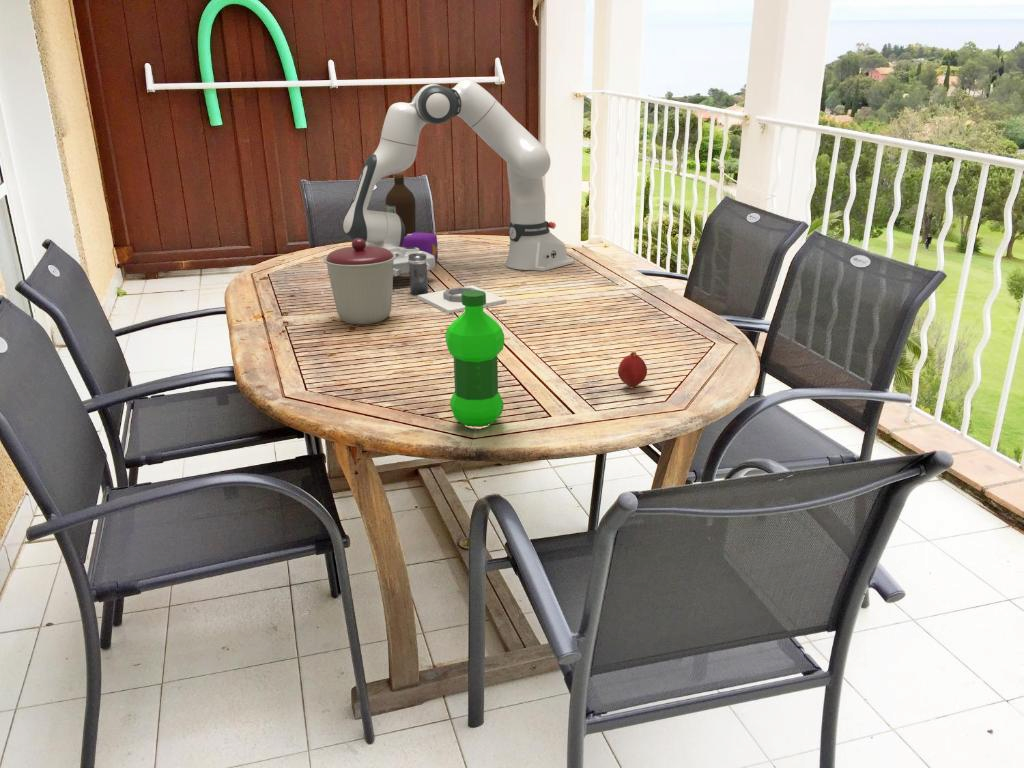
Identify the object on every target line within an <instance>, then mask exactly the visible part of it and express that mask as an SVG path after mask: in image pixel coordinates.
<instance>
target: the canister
mask: <svg viewBox="0 0 1024 768" xmlns="http://www.w3.org/2000/svg"><path fill="white" fill-rule="evenodd" d="M395 258H396V254H395V253H393V252H391V251H389V250H388V249H385V248H382V247H376V246H366V242H365V240H363V239H361V238H357V239H354V240H353V241H351V246H347V247H342V248H338V249H335V250H333V251H331V252H329V253H328V254H327V255H325V256H324V257H323V262H324V263H325V264H326V267H327V272H328V276H329V281H330V287H331V290H332V291H331V293H332V296H333V300H334V304H335V308H336V312H337V315H338V316H339V318H340V319H341V320H342V321H343V322H345V323H347V324H351V325H352V324H353V325H371V324H376V323H379V322H383V321H384V320H386V319H387V318H388V317H389V316H390V314H391V311H392V300H393V287H394V286H393V285H394V283H393V282H394V281H393V280H394V277H393V263H394V259H395Z"/></svg>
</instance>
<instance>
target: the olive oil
mask: <svg viewBox="0 0 1024 768" xmlns="http://www.w3.org/2000/svg"><path fill="white" fill-rule="evenodd" d="M393 175H394V177H393V179H394V180H393V182H394V185H393V186H392V188H391V189H390V190H389V191H388V192H387V194H386V196H385V212H390V213H396V214H398V215H399V216H400V218H401V219H402V221H403V224H404V226H405V236H407V234H411V233H417V231H416V229H417V227H416V225H417V223H416V198H415V195H414V193H413V192H412V190H410V189H409V188H408V187H407V186H406V185H405V178H404V173H403V172H400V173H396V174H393Z"/></svg>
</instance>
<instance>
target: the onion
mask: <svg viewBox="0 0 1024 768" xmlns="http://www.w3.org/2000/svg"><path fill="white" fill-rule="evenodd" d="M617 370H618V371H617V374H618V375H617V376H618V377H619V378H620V381H621V382H622V383H624V385H626V386H627V387H628V386H629V387H635V388H636V387H638V386H639V385H640V384H641V383H642V382H644V380H645V379H646V378H647V376H648V375H647V374H648V368H647V365H646V363H645V361H644V360H643V358H642V357H641V356H639V355H638V354H637V351H634V350H633V351H631V352H630V354H628V355H627V356H625V357H624V358H623V359H622V360H621V361H620V363H619V365H618V369H617ZM629 387H628V388H629Z"/></svg>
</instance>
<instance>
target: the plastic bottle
mask: <svg viewBox="0 0 1024 768" xmlns="http://www.w3.org/2000/svg"><path fill="white" fill-rule="evenodd" d="M461 298H462V304H463V305H464V306H465V311H463V313H461V314H460V315H459V316H458V317H457V318H456V319H455V320H454V321H453V322H451V324H449V325H448V327H447V328H446V332H445V343H446V349H447V350H448V352H449V354H450V355H451V356H452V357H453V374H454V375H453V377H454V391H453V393H452V396H451V397H450V401H449V404H450V409H451V412H452V414H453V417H454V419H455V420H456V421H457V422H458V423H460V424H461V423H462V424H464V425H467V426H484V425H488V424H491V425H492V424H493V423H494V422H495V421H497V419H499V417H501V415H502V413H503V411H504V401H503V399H502V395H501V394H500V392H499V372H498V371H499V370H498V369H499V367H498V364H499V363H498V355H499V354H500V353H501V352H502V351H503V349H504V346H505V334H504V332H503V329H502V326H501V325H500V323H498V322H497V321H496V320H495V319H494V318H492V317H491V316H490V315H489V314H488V313H487V312H485V311H484V307H483V305H484V304H486V293H485V292H484V291H480V290H469V291H464V292H462V293H461ZM462 424H461V425H462ZM464 425H463V426H464Z"/></svg>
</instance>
